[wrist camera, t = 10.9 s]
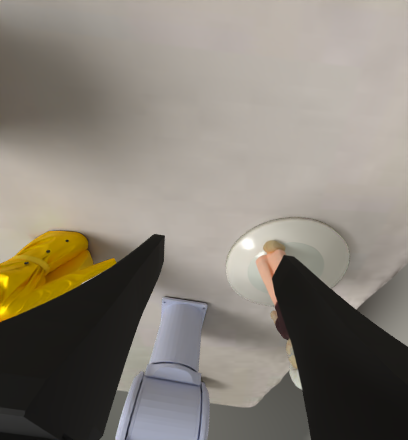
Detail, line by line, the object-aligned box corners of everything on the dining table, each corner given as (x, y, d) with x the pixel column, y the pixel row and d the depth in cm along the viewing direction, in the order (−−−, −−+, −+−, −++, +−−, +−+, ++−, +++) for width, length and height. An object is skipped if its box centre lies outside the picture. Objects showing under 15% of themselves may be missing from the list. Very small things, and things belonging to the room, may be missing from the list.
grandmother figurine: (257, 233, 20) (305, 378, 9) (291, 233, 19) (381, 382, 9) (251, 275, 24) (279, 406, 13) (279, 275, 23) (330, 410, 13)
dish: (309, 307, 28) (313, 313, 27) (216, 292, 28) (216, 298, 27) (372, 228, 20) (379, 234, 19) (241, 207, 20) (243, 211, 19)
